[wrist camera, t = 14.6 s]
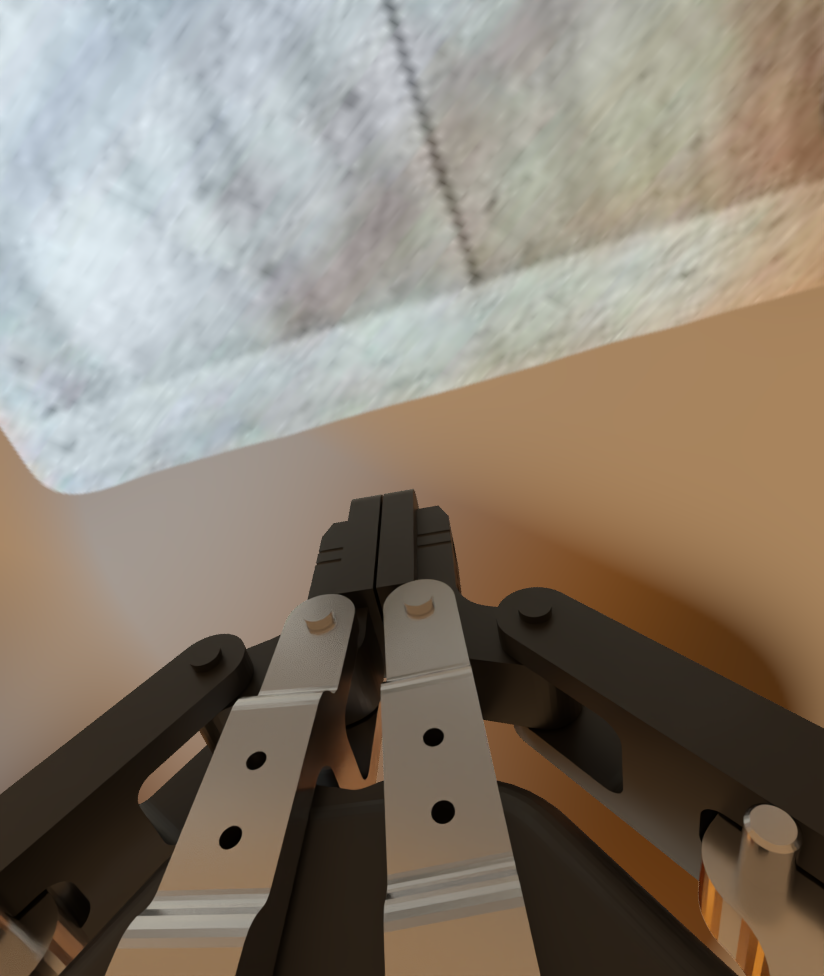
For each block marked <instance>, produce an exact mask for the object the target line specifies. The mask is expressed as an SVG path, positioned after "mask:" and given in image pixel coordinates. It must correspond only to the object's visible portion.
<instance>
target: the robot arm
mask: <svg viewBox="0 0 824 976" xmlns="http://www.w3.org/2000/svg"><path fill="white" fill-rule="evenodd" d="M316 563H317V565H316V566H315V571H314V574H313V579H312V583H311V587H310V591H309V596H308V600H307V601H305V602H303V603H302V604H300V605H299V606H297V607H296V608H295V609H294V610H293V611H292V612H291V613H290V615H289V616H288V618H287V620H286V622H285V625H284V628H283V631H282V633H281V635H279V636H277V637H275V638H273V639H271V640H268V641H265V642H263V643H260V644H258V645H256V646H253V647H251V648H248V649H246V647H245V645H244V643H243V642H242V640H241V639H240V638H239V637H237V636H235V635H231V634H219V635H213V636H210V637H207V638H204V639H202V640H200V641H198V642H196V643H195V644H193V645H191V646H190V647H189V648H187V649H186V650H185V651H183V652H182V653H181V654H180V655H179V656H177V657H176V658H174V659H173V660H172V661H171V662H169V663H168V664H167V665H165V666H164V667H163V668H162V669H160V670H159V671H158V672H157V673H155V674H154V675H153V676H151V677H150V678H149V679H148V680H146V681H145V682H144V683H142V684H141V685H140V686H139V687H137V688H136V689H135V690H134V691H132V692H131V693H130V694H128V695H127V696H126V697H124V698H123V699H122V700H121V701H119V702H118V703H117V704H116V705H114V706H113V707H112V708H110V709H109V710H108V711H107V712H105V713H104V714H103V715H102V716H100V717H99V718H98V719H96V720H95V721H94V722H93V723H91V724H90V725H89V726H87V727H86V728H85V729H84V730H82V731H81V732H80V733H79V734H77V735H76V736H75V737H73V738H72V739H71V740H69V741H68V742H67V743H66V744H65V745H63V746H62V747H60V748H59V749H58V750H57V751H55V752H54V753H53V754H51V755H50V756H49V757H48V758H46V759H45V760H44V761H43V762H41V763H40V764H39V765H37V766H36V767H35V768H34V769H32V770H31V771H30V772H29V773H27V774H26V775H25V776H23V777H22V778H21V779H20V780H18V781H17V782H16V783H14V784H13V785H12V786H11V787H9V788H8V789H7V790H6V791H4V792H3V793H2V794H1V795H0V976H738V975H737V974H736V973H735V972H734V971H733V970H732V969H730V968H729V967H728V966H727V965H726V964H725V963H724V962H723V961H722V960H721V959H720V958H719V957H717V956H716V955H715V954H714V953H713V952H712V951H711V950H710V949H709V948H707V946H706V945H705V944H703V943H702V942H701V941H700V940H699V939H698V938H697V937H696V936H695V935H694V934H693V933H692V932H690V931H689V930H688V929H687V928H686V927H685V926H684V925H683V924H682V923H681V922H679V921H678V920H677V919H676V918H675V917H674V916H673V915H672V914H671V913H670V912H669V911H668V910H667V909H666V908H665V907H663V906H662V905H661V904H660V903H659V902H658V901H657V900H656V899H655V898H654V897H653V896H652V895H650V894H649V893H648V892H647V891H646V890H645V889H644V888H643V887H642V886H641V885H640V884H638V883H637V882H636V881H635V880H634V879H633V878H632V877H631V876H630V875H629V874H628V873H627V872H626V871H625V870H624V869H622V868H621V867H620V866H619V865H618V864H617V863H616V862H615V861H614V860H613V859H612V858H611V857H609V856H608V855H607V854H606V853H605V852H604V851H603V850H602V849H601V848H600V847H598V845H597V844H596V843H594V842H593V841H592V840H591V839H590V838H589V837H588V836H587V835H586V834H585V833H584V832H583V831H582V830H580V829H579V828H578V827H577V826H576V825H575V824H574V823H573V822H572V821H571V820H570V819H568V818H567V817H566V816H565V815H564V814H563V813H562V812H561V811H560V810H558V809H557V808H556V807H554V806H553V805H552V804H550V803H548V802H547V801H546V800H544V799H543V798H541V797H539V796H537V795H535V794H534V793H532V792H530V791H528V790H525V789H523V788H520V787H518V786H515V785H512V784H508V783H504V782H501V781H496V776H495V772H494V767H493V763H492V758H491V754H490V749H489V745H488V741H487V736H486V731H485V727H484V723H483V720H488V721H495V722H501V723H507V724H513V725H514V728H515V730H516V732H517V734H518V735H519V736H520V738H522V739H523V740H524V741H525V742H526V743H527V744H528V745H530V746H531V747H532V748H534V749H535V750H536V751H537V752H539V753H540V754H541V755H542V756H544V757H545V758H546V759H547V760H549V761H550V762H551V763H552V764H554V765H555V766H556V767H557V768H558V769H560V770H561V771H562V772H564V773H565V774H566V775H567V776H568V777H570V778H571V779H572V780H573V781H575V782H576V783H577V784H579V785H580V786H581V787H582V788H583V789H585V790H586V791H587V792H589V793H590V794H591V795H592V796H593V797H595V798H596V799H597V800H599V801H600V802H601V803H602V804H603V805H605V806H606V807H607V808H609V809H610V810H611V811H612V812H613V813H615V814H616V815H617V816H618V817H620V818H621V819H622V820H624V821H625V822H626V823H627V824H628V825H630V826H631V827H632V828H634V829H635V830H636V831H637V832H638V833H640V834H641V835H642V836H643V837H645V838H646V839H647V840H648V841H650V842H651V843H652V844H653V845H655V846H656V847H657V848H658V849H660V850H661V851H662V852H664V853H665V854H666V855H667V856H668V857H670V858H671V859H672V860H673V861H675V862H676V863H677V864H678V865H680V866H681V867H682V868H683V869H685V870H686V871H687V872H688V873H690V874H691V875H692V876H693V877H695V878H696V879H697V880H698V881H699V887H698V899H699V906H700V910H701V913H702V916H703V918H704V920H705V923H706V925H707V926H708V928H709V930H710V932H711V933H712V935H713V936H714V937H715V939H716V940H717V941H718V942H719V944H720V945H721V946H722V947H723V948H724V949H725V950H726V951H727V952H728V953H729V954H730V955H731V957H733V959H734V960H735V961H736V962H737V963H738V965H739V966H740V968H741V969H742V970H743V972H744V973H745V975H746V976H824V728H822V727H820V726H818V725H816V724H814V723H812V722H810V721H808V720H806V719H804V718H802V717H801V716H798V715H797V714H795V713H793V712H791V711H789V710H787V709H785V708H783V707H781V706H779V705H777V704H775V703H773V702H772V701H770V700H768V699H766V698H764V697H762V696H760V695H758V694H756V693H754V692H752V691H750V690H748V689H746V688H744V687H743V686H741V685H739V684H737V683H735V682H733V681H731V680H729V679H727V678H725V677H723V676H721V675H719V674H717V673H715V672H714V671H712V670H710V669H708V668H706V667H704V666H702V665H700V664H698V663H696V662H694V661H692V660H690V659H688V658H686V657H684V656H683V655H681V654H679V653H677V652H675V651H673V650H671V649H669V648H667V647H665V646H663V645H661V644H659V643H657V642H656V641H654V640H652V639H650V638H647V637H646V636H644V635H642V634H640V633H638V632H636V631H634V630H632V629H630V628H628V627H626V626H625V625H623V624H621V623H619V622H617V621H615V620H613V619H611V618H609V617H607V616H605V615H603V614H601V613H599V612H598V611H596V610H594V609H592V608H590V607H588V606H586V605H584V604H582V603H580V602H578V601H576V600H574V599H572V598H570V597H569V596H567V595H565V594H563V593H561V592H558V591H556V590H553V589H549V588H542V587H533V588H526V589H522V590H518V591H516V592H514V593H511V594H510V595H508V596H507V597H506V598H505V599H503V600H502V601H501V603H500V604H499V606H498V607H491V606H484V605H479V604H476V603H473V602H470V601H469V600H467V599H466V598H464V597H463V596H462V595H461V585H460V577H459V569H458V563H457V558H456V553H455V547H454V542H453V537H452V532H451V527H450V522H449V516H448V515H447V514H446V513H445V512H444V511H443V510H442V509H441V508H440V507H439V506H433V507H427V508H422V509H419V506H418V502H417V498H416V494H415V491H414V489H411V490H405V491H400V492H394V493H388V494H384V496H383V495H377V496H371V497H365V498H359V499H353V500H352V502H351V506H350V512H349V518H348V521H345V522H340V523H334V524H333V525H332V526H331V527H330V528H329V530H328V531H327V532H326V533H325V534H324V536H323V537H322V540H321V545H320V549H319V554H318V558H317V562H316ZM384 678H387V681H386V682H383V680H384ZM198 731H200V733H201V735H202V736H203V738H204V740H205V742H206V744H207V746H205V747H204V748H203V749H202V750H201V751H200V752H199V753H198V754H197V755H196V756H195V757H194V758H192V760H190V761H189V762H188V763H187V764H186V765H185V766H184V767H183V768H182V769H181V770H180V771H178V772H177V773H176V774H175V775H174V776H173V777H172V778H171V779H170V780H169V781H168V782H167V783H165V785H163V786H162V787H161V788H160V789H159V790H158V791H157V792H156V793H155V794H154V795H153V796H151V797H150V798H149V799H148V800H146V801H145V802H143V803H141V804H138V793H139V790H140V788H141V786H142V784H143V782H144V781H145V780H146V779H147V777H148V776H149V775H150V774H151V773H153V772H154V771H155V770H156V769H157V768H158V767H159V766H160V765H161V764H163V763H164V762H165V761H166V760H167V759H168V758H169V757H170V756H171V755H173V754H174V753H175V752H176V751H177V750H178V749H179V748H180V747H181V746H183V745H184V744H185V743H186V742H187V741H188V740H189V739H190V738H191V737H193V736H194V735H195V734H196V733H197V732H198ZM381 742H382V745H383V772H384V781H381V782H378V783H376V779H377V772H378V763H379V756H380V749H381Z"/></svg>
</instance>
